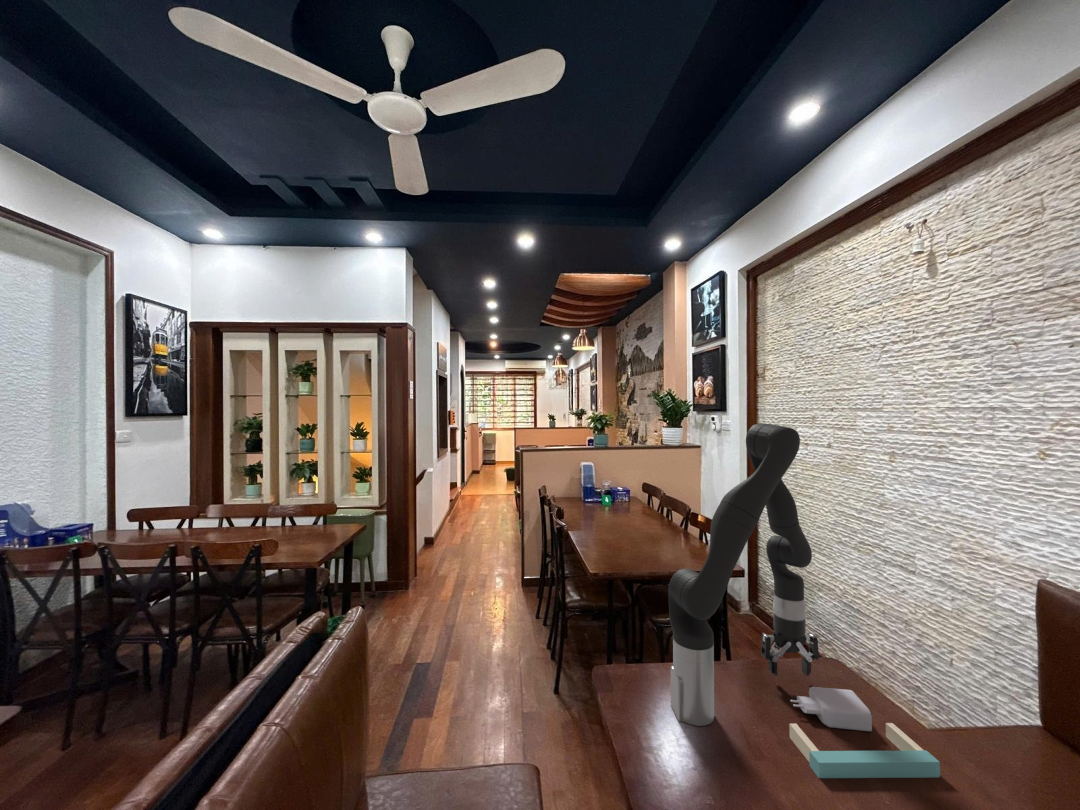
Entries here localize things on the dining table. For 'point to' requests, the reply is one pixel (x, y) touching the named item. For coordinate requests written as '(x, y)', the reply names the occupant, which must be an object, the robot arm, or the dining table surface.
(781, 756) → the dining table surface
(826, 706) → the charger
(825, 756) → the stop bay
